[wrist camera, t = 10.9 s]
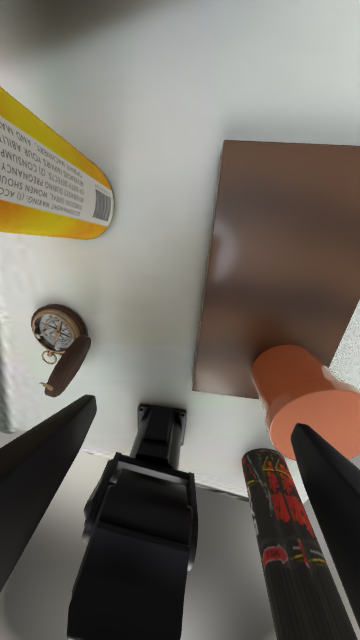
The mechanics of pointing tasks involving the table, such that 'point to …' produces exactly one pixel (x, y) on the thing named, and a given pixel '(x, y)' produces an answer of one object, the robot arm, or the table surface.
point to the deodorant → (291, 555)
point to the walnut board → (278, 258)
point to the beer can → (47, 180)
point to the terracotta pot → (305, 399)
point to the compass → (61, 344)
